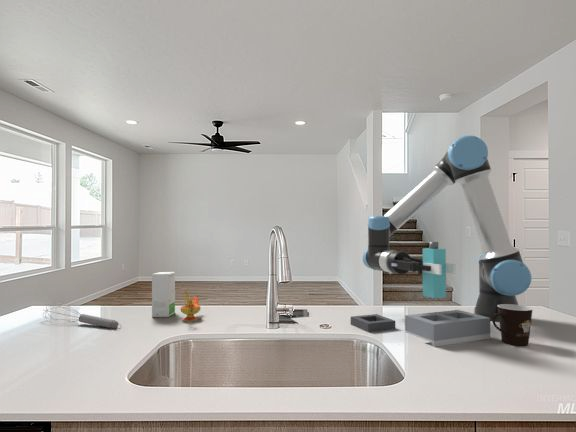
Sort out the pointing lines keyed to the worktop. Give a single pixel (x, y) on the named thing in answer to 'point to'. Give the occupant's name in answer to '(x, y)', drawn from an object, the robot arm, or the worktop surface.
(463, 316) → the block
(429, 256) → the plug
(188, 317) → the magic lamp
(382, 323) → the frame
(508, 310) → the coffee mug
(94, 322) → the kitchen whisk
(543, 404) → the worktop surface
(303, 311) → the handgun
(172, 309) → the skincare box
